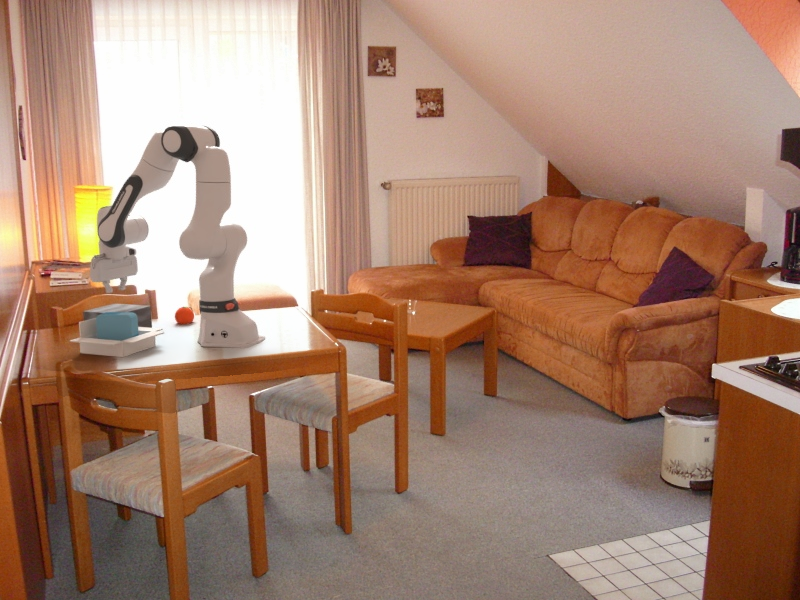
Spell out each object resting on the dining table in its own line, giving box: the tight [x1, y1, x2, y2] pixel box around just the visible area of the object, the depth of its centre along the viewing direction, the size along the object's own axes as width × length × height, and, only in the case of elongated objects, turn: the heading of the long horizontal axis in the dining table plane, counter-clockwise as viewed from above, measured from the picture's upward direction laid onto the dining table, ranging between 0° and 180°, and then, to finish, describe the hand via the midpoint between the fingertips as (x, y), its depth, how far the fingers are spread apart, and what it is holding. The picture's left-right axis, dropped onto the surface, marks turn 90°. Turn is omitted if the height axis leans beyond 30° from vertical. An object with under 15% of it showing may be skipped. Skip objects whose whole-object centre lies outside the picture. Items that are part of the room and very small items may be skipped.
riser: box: [82, 303, 153, 328], centre depth 280 cm, size 16×16×9 cm
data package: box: [96, 312, 139, 341], centre depth 255 cm, size 12×4×12 cm, turn 82°
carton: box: [69, 318, 165, 358], centre depth 254 cm, size 21×24×10 cm
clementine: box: [174, 306, 195, 325], centre depth 293 cm, size 8×7×7 cm
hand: (115, 291), depth 278 cm, fingers open, 5 cm apart
